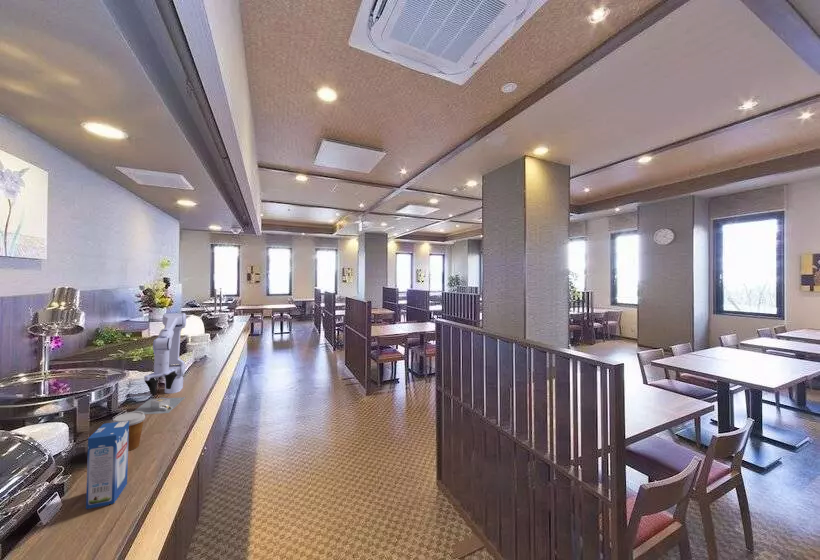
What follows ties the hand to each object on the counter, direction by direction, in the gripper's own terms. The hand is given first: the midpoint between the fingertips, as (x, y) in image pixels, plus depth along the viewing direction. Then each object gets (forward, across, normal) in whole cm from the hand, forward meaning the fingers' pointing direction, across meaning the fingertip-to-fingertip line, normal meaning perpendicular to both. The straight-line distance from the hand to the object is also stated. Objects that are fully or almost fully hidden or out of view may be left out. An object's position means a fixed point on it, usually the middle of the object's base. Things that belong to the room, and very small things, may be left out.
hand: (160, 391), depth 158 cm
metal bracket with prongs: (+8, 0, -1) cm, 8 cm away
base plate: (+9, +2, +4) cm, 10 cm away
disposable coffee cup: (+10, -29, -21) cm, 37 cm away
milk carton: (+10, -50, -44) cm, 67 cm away
